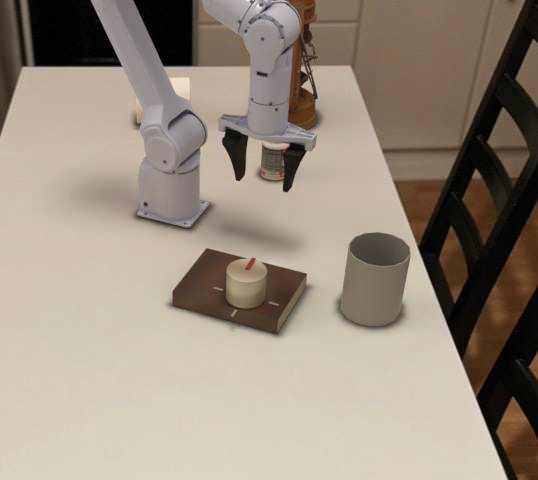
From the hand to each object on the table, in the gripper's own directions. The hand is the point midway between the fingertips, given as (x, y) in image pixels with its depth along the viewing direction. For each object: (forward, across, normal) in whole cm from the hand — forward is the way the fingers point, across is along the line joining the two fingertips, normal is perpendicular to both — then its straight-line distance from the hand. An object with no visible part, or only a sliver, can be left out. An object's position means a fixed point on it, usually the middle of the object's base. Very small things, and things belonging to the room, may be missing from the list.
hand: (263, 183), depth 137 cm
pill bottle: (+10, +5, -19) cm, 22 cm away
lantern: (+10, +12, -40) cm, 43 cm away
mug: (+10, +32, -31) cm, 46 cm away
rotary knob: (+7, -5, +19) cm, 21 cm away
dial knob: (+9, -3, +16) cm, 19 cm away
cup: (+10, -21, +10) cm, 25 cm away
